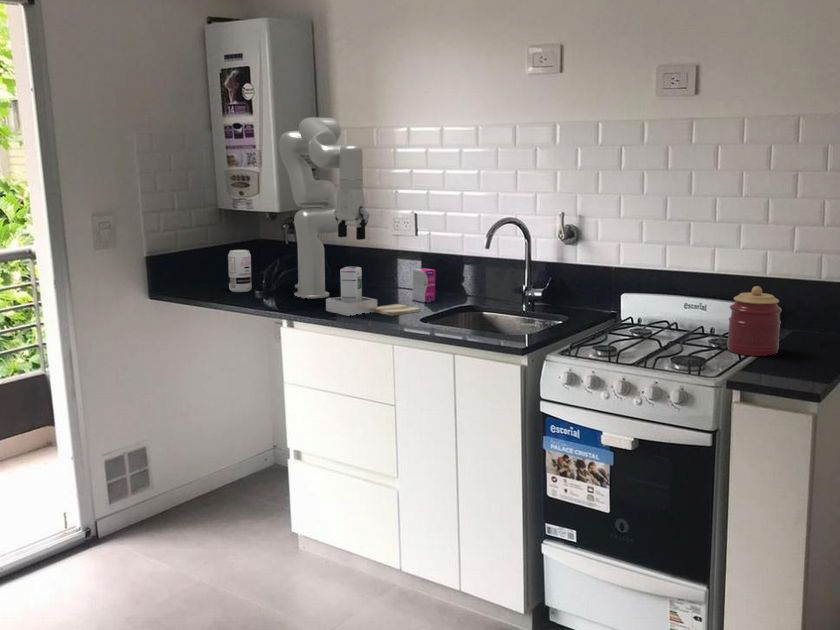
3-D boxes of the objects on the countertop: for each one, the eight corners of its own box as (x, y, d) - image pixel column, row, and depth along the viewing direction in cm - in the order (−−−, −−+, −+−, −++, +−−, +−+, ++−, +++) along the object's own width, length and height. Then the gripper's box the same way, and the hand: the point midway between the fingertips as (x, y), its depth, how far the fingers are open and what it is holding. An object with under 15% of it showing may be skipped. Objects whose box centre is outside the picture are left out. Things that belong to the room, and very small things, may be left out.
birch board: (369, 310, 293) (369, 307, 293) (397, 306, 301) (397, 303, 301) (392, 315, 285) (392, 312, 284) (420, 311, 292) (420, 308, 292)
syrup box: (358, 313, 289) (357, 269, 286) (340, 312, 290) (340, 268, 288) (362, 310, 295) (362, 266, 292) (345, 309, 296) (345, 266, 293)
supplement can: (233, 288, 338) (232, 249, 335) (254, 289, 337) (253, 249, 334) (226, 292, 330) (224, 251, 327) (247, 292, 329) (246, 252, 326)
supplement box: (423, 303, 308) (423, 270, 306) (412, 301, 312) (412, 269, 310) (435, 301, 312) (435, 269, 309) (424, 299, 316) (424, 267, 314)
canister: (788, 353, 236) (794, 287, 232) (759, 359, 228) (764, 291, 225) (745, 344, 246) (750, 281, 243) (716, 350, 239) (720, 285, 235)
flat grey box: (313, 307, 298) (313, 296, 298) (342, 303, 306) (342, 292, 305) (348, 315, 284) (347, 303, 283) (377, 311, 292) (377, 299, 291)
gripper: (325, 184, 289) (326, 236, 292) (358, 186, 276) (358, 241, 279) (344, 183, 293) (344, 235, 297) (377, 185, 281) (377, 239, 284)
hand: (351, 238), depth 288 cm, fingers open, 9 cm apart
